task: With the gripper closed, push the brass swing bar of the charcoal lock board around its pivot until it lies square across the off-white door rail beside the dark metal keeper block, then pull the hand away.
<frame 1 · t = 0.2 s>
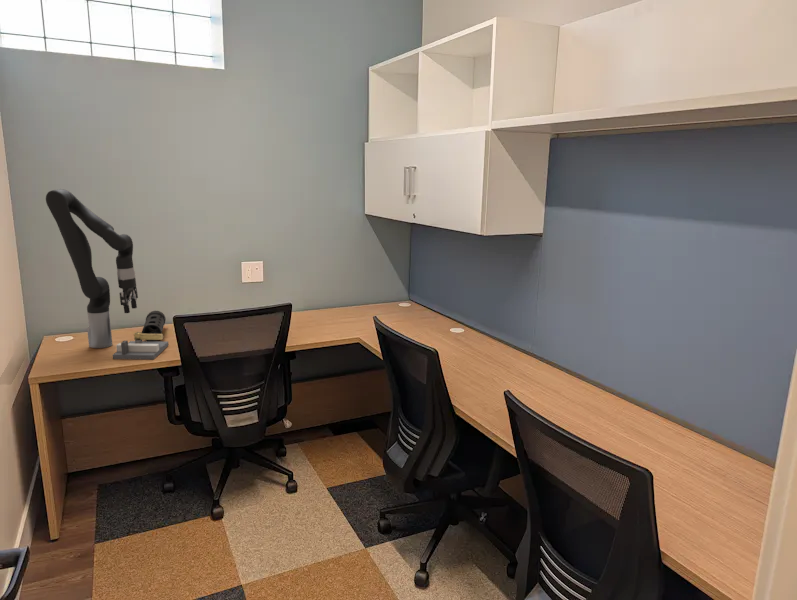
hand: (130, 310, 268), 18 cm above the table, tool pointing down, fingers open, 8 cm apart
lock board: (141, 351, 265), on the table
swing bar: (148, 336, 266), point 7 cm above the table, hinge at 0.0°
muzzle brake: (154, 336, 289), on the table
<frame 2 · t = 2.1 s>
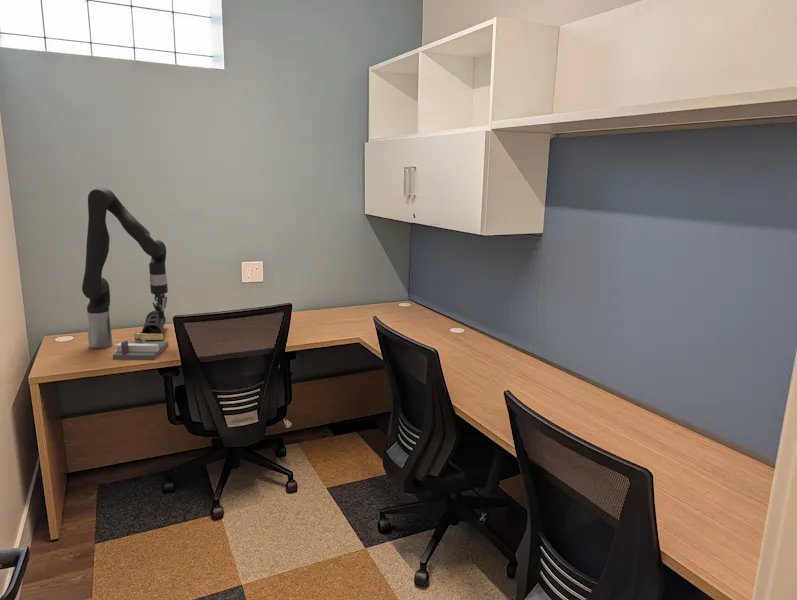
hand: (161, 318, 270), 14 cm above the table, tool pointing down, fingers closed
nothing on the table moved.
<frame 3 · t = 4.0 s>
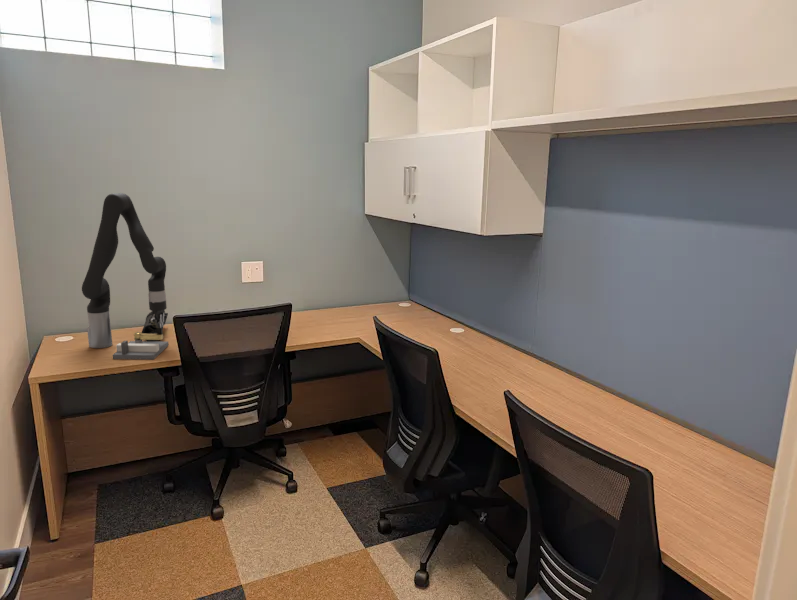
hand: (159, 334, 268), 7 cm above the table, tool pointing down, fingers closed
swing bar: (148, 336, 266), point 7 cm above the table, hinge at 0.0°, touching gripper
everything else where it was.
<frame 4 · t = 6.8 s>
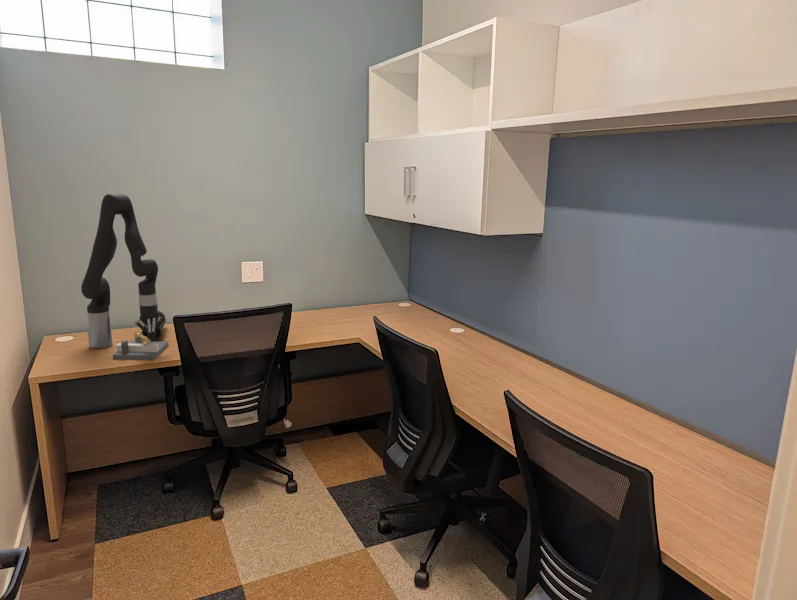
hand: (151, 339, 261), 7 cm above the table, tool pointing down, fingers closed
swing bar: (142, 338, 262), point 7 cm above the table, hinge at 47.4°, touching gripper
everything else where it was.
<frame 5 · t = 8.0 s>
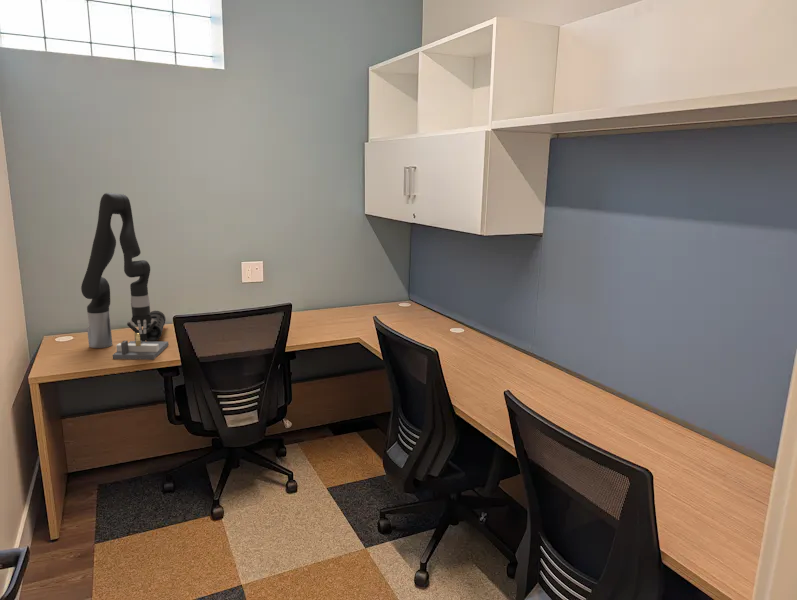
hand: (143, 341, 258), 7 cm above the table, tool pointing down, fingers closed
swing bar: (138, 339, 261), point 7 cm above the table, hinge at 69.8°, touching gripper
everything else where it was.
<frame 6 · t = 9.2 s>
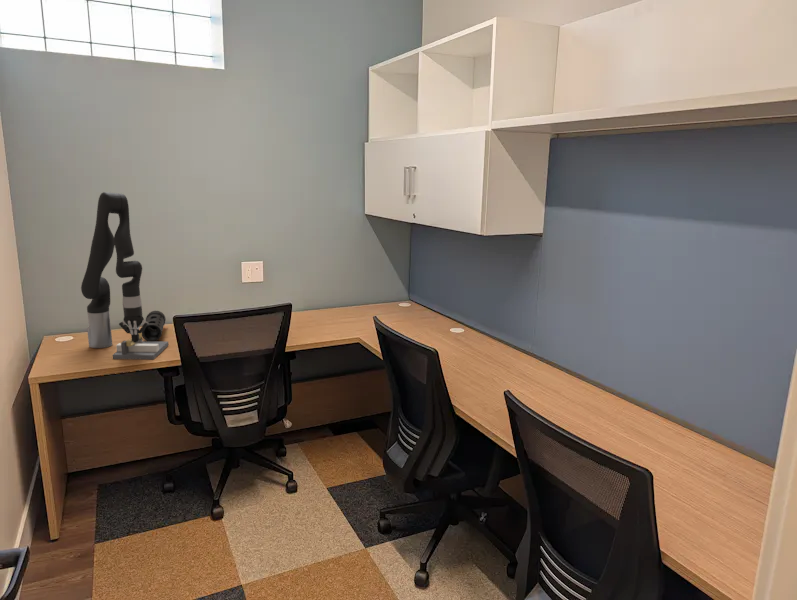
hand: (135, 341, 257), 7 cm above the table, tool pointing down, fingers closed
swing bar: (134, 339, 261), point 7 cm above the table, hinge at 90.9°, touching gripper
everything else where it was.
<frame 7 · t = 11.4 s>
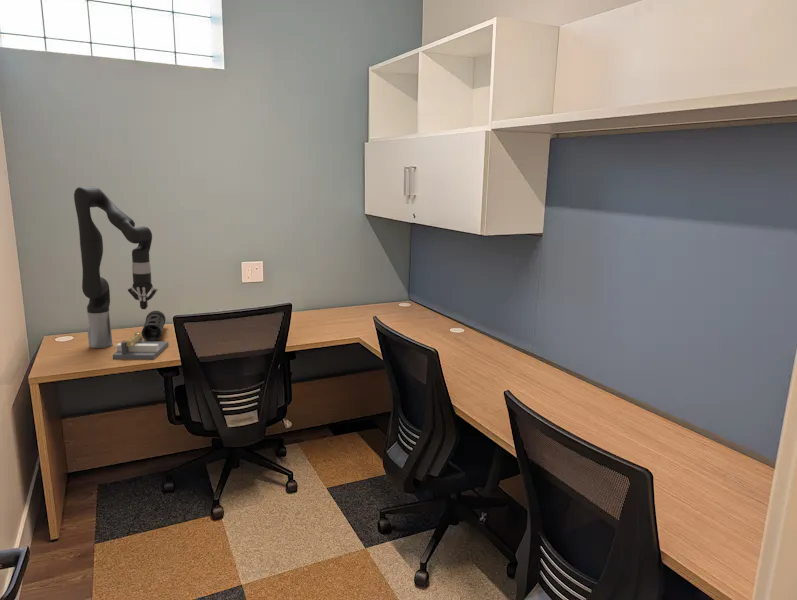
hand: (143, 308, 257), 22 cm above the table, tool pointing down, fingers closed
swing bar: (134, 339, 261), point 7 cm above the table, hinge at 90.8°
everything else where it was.
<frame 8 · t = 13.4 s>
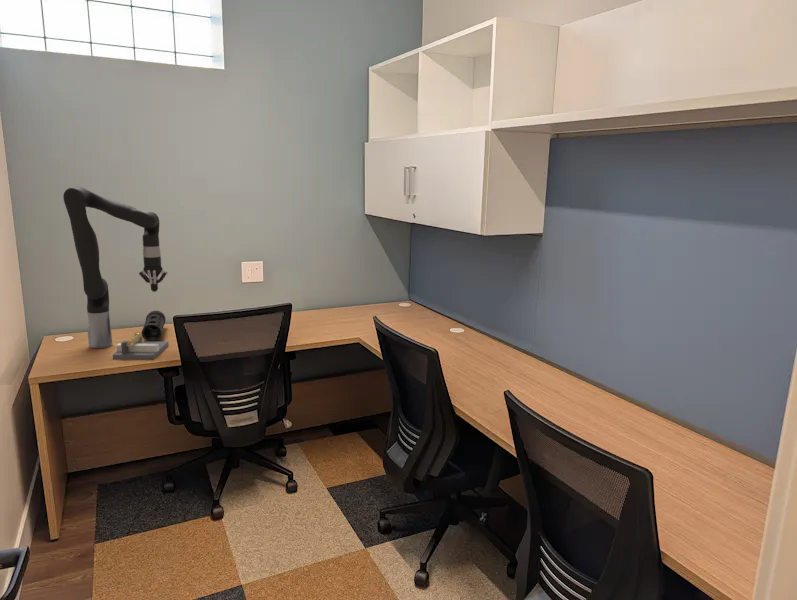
hand: (154, 291, 269), 27 cm above the table, tool pointing down, fingers closed
nothing on the table moved.
at the end: swing bar at +91° (first picture: +0°); muzzle brake moved 0.4 cm from its start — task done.
